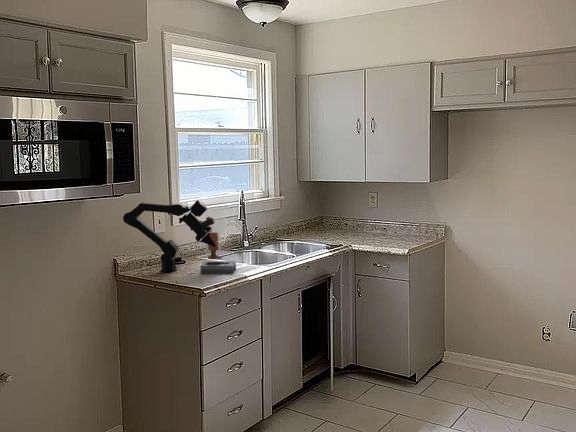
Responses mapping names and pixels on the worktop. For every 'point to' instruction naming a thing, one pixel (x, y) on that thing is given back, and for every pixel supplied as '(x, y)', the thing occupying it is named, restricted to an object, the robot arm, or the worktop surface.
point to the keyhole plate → (217, 267)
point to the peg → (213, 249)
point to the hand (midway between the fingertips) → (215, 245)
